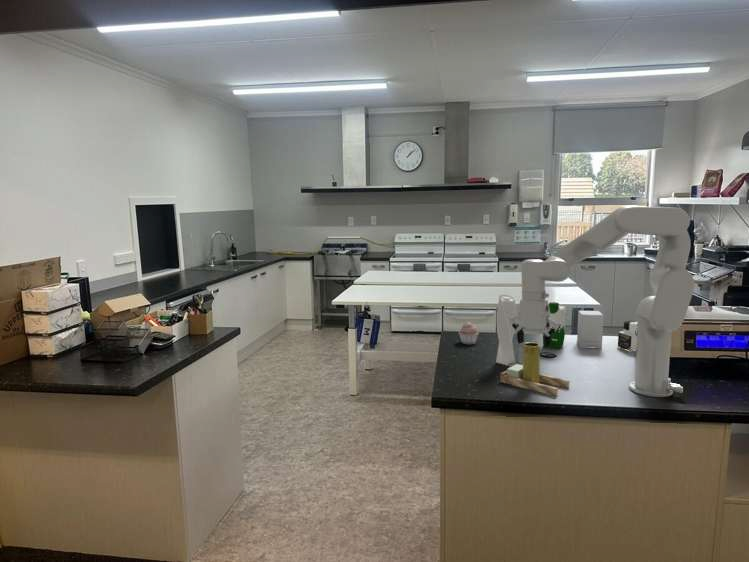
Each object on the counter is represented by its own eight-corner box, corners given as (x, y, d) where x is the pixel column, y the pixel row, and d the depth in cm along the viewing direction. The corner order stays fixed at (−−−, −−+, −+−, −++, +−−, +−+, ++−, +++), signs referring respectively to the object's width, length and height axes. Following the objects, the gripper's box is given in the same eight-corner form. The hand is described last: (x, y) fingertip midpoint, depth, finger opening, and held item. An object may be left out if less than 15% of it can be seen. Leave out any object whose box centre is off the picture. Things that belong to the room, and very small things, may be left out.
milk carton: (540, 348, 212) (541, 303, 209) (545, 343, 220) (546, 299, 217) (561, 350, 207) (563, 304, 205) (565, 345, 215) (567, 301, 212)
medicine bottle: (617, 347, 211) (618, 320, 209) (630, 346, 213) (631, 319, 211) (630, 352, 204) (631, 324, 202) (643, 350, 206) (645, 322, 204)
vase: (541, 387, 166) (542, 347, 164) (522, 386, 167) (523, 346, 165) (538, 381, 172) (539, 342, 170) (520, 380, 173) (521, 341, 171)
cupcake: (478, 340, 227) (478, 319, 225) (479, 345, 218) (480, 323, 216) (457, 339, 228) (458, 319, 227) (458, 345, 219) (458, 323, 217)
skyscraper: (508, 368, 186) (510, 296, 182) (491, 363, 193) (492, 293, 189) (521, 363, 192) (523, 293, 188) (504, 358, 198) (505, 291, 194)
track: (569, 387, 165) (569, 378, 165) (556, 396, 158) (556, 386, 157) (514, 374, 179) (515, 366, 179) (500, 382, 172) (500, 373, 171)
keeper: (527, 378, 174) (527, 366, 173) (517, 383, 169) (517, 371, 168) (516, 375, 177) (517, 363, 176) (506, 381, 172) (507, 368, 171)
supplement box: (602, 349, 209) (604, 315, 207) (580, 348, 211) (581, 314, 209) (598, 343, 218) (599, 310, 216) (576, 342, 220) (578, 310, 218)
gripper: (563, 296, 162) (563, 345, 164) (515, 292, 174) (516, 338, 176) (553, 299, 156) (553, 351, 159) (504, 295, 168) (505, 343, 171)
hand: (534, 344), depth 167 cm, fingers open, 9 cm apart
